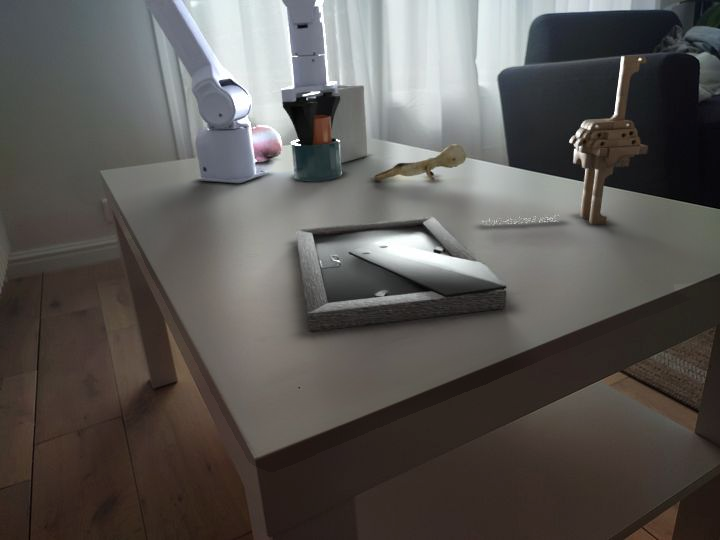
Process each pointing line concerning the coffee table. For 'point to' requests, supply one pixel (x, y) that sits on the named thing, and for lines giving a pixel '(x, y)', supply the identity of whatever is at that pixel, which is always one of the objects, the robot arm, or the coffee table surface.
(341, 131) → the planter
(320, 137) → the cup
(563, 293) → the coffee table surface
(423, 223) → the picture frame
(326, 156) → the base cup
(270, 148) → the onion
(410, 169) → the figurine
